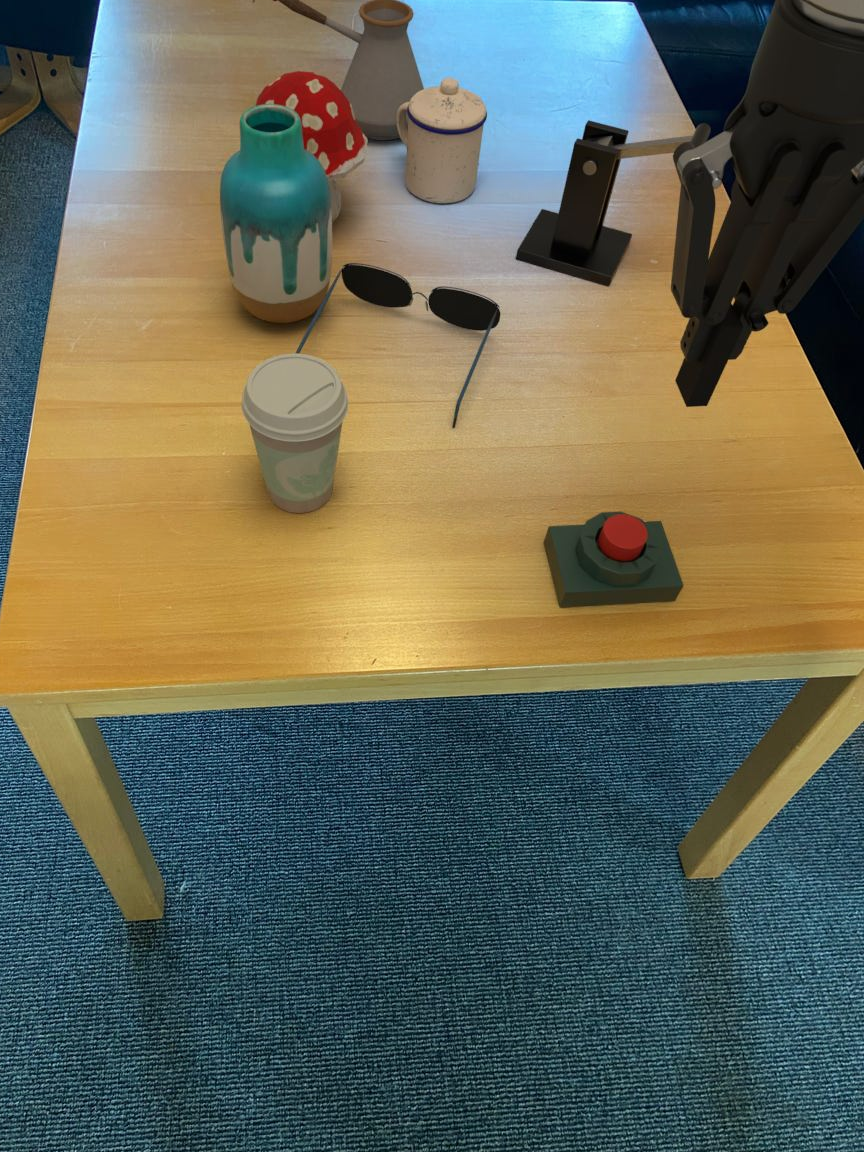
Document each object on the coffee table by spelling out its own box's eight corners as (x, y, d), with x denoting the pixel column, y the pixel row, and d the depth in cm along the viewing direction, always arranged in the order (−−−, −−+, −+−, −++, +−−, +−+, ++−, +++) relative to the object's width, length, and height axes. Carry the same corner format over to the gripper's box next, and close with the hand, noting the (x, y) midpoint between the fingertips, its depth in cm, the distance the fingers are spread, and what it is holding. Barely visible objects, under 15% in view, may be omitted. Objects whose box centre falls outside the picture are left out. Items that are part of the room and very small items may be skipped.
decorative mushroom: (254, 258, 95) (240, 116, 82) (240, 187, 102) (226, 47, 90) (377, 248, 97) (382, 108, 84) (355, 179, 104) (357, 41, 92)
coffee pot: (425, 104, 115) (435, -30, 102) (426, 150, 108) (438, 14, 96) (265, 96, 114) (255, -40, 101) (257, 142, 108) (246, 4, 95)
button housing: (653, 536, 76) (668, 506, 73) (675, 601, 72) (691, 572, 69) (543, 542, 75) (552, 512, 72) (559, 607, 71) (570, 579, 68)
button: (635, 526, 72) (641, 512, 70) (646, 560, 70) (653, 547, 68) (593, 528, 71) (598, 514, 70) (603, 563, 70) (609, 549, 68)
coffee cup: (262, 533, 74) (250, 431, 64) (244, 462, 79) (230, 356, 69) (358, 515, 76) (360, 413, 66) (335, 447, 80) (334, 341, 70)
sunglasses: (498, 336, 90) (504, 298, 85) (454, 442, 84) (458, 408, 79) (344, 294, 92) (342, 256, 88) (292, 395, 86) (286, 359, 82)
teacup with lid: (492, 186, 105) (507, 83, 95) (442, 215, 101) (452, 111, 91) (421, 146, 109) (429, 43, 99) (370, 172, 105) (373, 68, 95)
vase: (226, 338, 88) (200, 147, 72) (238, 274, 93) (217, 84, 77) (329, 343, 88) (327, 155, 72) (335, 279, 94) (334, 91, 77)
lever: (710, 142, 86) (710, 116, 84) (700, 166, 84) (699, 140, 82) (592, 156, 92) (589, 132, 90) (578, 179, 89) (576, 155, 88)
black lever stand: (629, 243, 100) (664, 129, 89) (609, 286, 95) (643, 172, 84) (539, 218, 102) (563, 103, 91) (515, 259, 97) (537, 143, 86)
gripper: (953, -33, 43) (761, 353, 63) (703, -32, 42) (588, 361, 62) (1030, 37, 39) (798, 426, 59) (756, 40, 38) (614, 436, 58)
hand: (691, 392), depth 60 cm, fingers closed
